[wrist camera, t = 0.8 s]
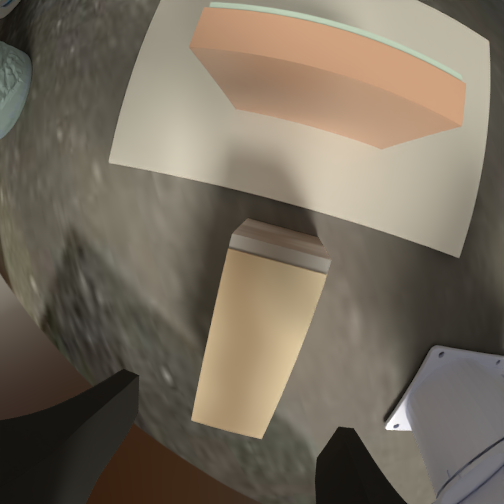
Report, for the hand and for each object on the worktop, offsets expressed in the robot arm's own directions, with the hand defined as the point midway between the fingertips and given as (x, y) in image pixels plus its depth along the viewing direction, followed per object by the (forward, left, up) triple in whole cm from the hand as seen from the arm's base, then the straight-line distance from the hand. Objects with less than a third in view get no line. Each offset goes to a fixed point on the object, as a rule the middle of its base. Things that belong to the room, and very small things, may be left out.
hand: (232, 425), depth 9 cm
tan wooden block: (0, 0, -9) cm, 9 cm away
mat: (0, -15, -9) cm, 17 cm away
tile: (0, -12, -4) cm, 13 cm away
